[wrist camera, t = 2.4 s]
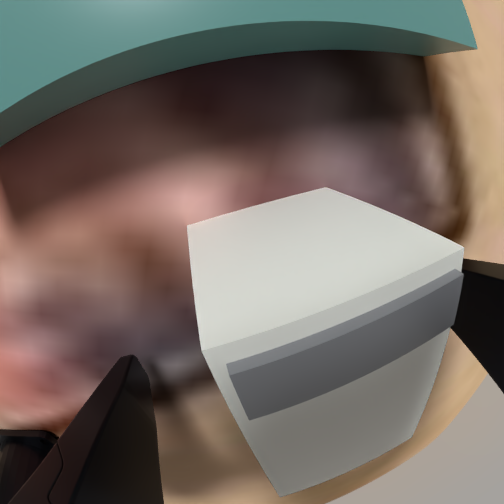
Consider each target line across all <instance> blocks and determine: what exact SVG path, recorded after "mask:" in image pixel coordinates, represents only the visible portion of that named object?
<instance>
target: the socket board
mask: <svg viewBox="0 0 504 504" xmlns="http://www.w3.org/2000/svg"><path fill="white" fill-rule="evenodd" d="M475 49H477V45H476V41H475V38H474V34H473V31H472V28H471V25H470V22H469V19H468V16H467V13H466V10H465V7H464V5H463V2H462V0H0V147H1V146H3V145H4V144H6V143H7V142H9V141H11V140H12V139H14V138H15V137H17V136H19V135H20V134H22V133H24V132H26V131H27V130H29V129H31V128H33V127H34V126H36V125H38V124H40V123H42V122H44V121H45V120H47V119H49V118H51V117H53V116H55V115H57V114H59V113H61V112H63V111H65V110H68V109H70V108H72V107H74V106H76V105H78V104H81V103H83V102H85V101H87V100H90V99H92V98H95V97H97V96H100V95H102V94H105V93H107V92H110V91H112V90H115V89H118V88H120V87H123V86H126V85H129V84H132V83H135V82H138V81H141V80H144V79H147V78H151V77H154V76H157V75H161V74H164V73H168V72H172V71H175V70H179V69H183V68H187V67H191V66H196V65H200V64H205V63H210V62H215V61H220V60H226V59H231V58H237V57H244V56H251V55H259V54H267V53H277V52H289V51H305V50H366V51H382V52H393V53H402V54H411V55H418V56H430V55H436V54H442V53H449V52H456V51H465V50H475Z"/></svg>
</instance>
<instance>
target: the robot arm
mask: <svg viewBox="0 0 504 504" xmlns="http://www.w3.org/2000/svg"><path fill="white" fill-rule="evenodd" d="M461 272H462V273H463V274H464V276H463V282H462V288H461V293H460V298H459V303H458V308H457V313H456V317H455V321H454V325H452V326H451V327H450V328H451V329H452V330H453V331H454V332H455V333H456V335H457V336H458V337H459V338H460V339H461V340H462V342H463V343H464V344H465V345H466V346H467V347H468V349H469V350H470V351H471V352H472V353H473V355H474V356H475V357H476V358H477V360H478V361H479V362H480V363H481V365H482V366H483V367H484V368H485V370H486V371H487V372H488V373H489V375H490V376H491V377H492V379H493V380H494V381H495V383H496V384H497V385H498V387H499V388H500V389H501V391H502V392H503V393H504V264H497V263H491V262H484V261H477V260H470V259H463V263H462V270H461ZM0 504H164V500H163V492H162V484H161V475H160V465H159V454H158V441H157V428H156V420H155V414H154V408H153V402H152V396H151V389H150V382H149V378H148V375H147V373H146V372H145V370H144V369H143V367H142V365H141V364H140V362H139V361H138V359H137V357H136V356H135V355H128V356H123V357H121V358H120V359H119V360H118V361H117V362H116V364H115V365H114V366H113V368H112V369H111V370H110V371H109V373H108V374H107V375H106V377H105V378H104V379H103V380H102V382H101V383H100V384H99V386H98V387H97V388H96V390H95V391H94V392H93V394H92V395H91V396H90V398H89V399H88V400H87V402H86V403H85V404H84V405H83V407H82V408H81V410H80V411H79V412H78V414H77V415H76V416H75V418H74V419H73V420H72V422H71V423H70V424H69V426H68V427H67V428H66V430H65V431H64V433H63V434H62V435H61V437H60V438H59V439H58V440H57V439H55V438H54V437H53V436H52V435H51V434H49V433H47V432H45V431H40V430H37V431H24V430H0Z"/></svg>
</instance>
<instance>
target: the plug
mask: <svg viewBox="0 0 504 504" xmlns="http://www.w3.org/2000/svg"><path fill="white" fill-rule="evenodd" d="M187 233H188V244H189V254H190V264H191V273H192V282H193V291H194V299H195V307H196V315H197V322H198V330H199V337H200V344H201V350H202V353H203V355H204V357H205V359H206V361H207V364H208V366H209V368H210V370H211V372H212V374H213V376H214V379H215V381H216V383H217V385H218V387H219V389H220V391H221V393H222V395H223V397H224V399H225V401H226V403H227V405H228V407H229V409H230V411H231V413H232V415H233V417H234V418H235V420H236V422H237V424H238V426H239V428H240V430H241V432H242V433H243V435H244V437H245V439H246V441H247V443H248V444H249V446H250V448H251V450H252V451H253V453H254V455H255V457H256V458H257V460H258V462H259V464H260V465H261V467H262V469H263V470H264V472H265V474H266V475H267V477H268V479H269V480H270V482H271V484H272V485H273V487H274V489H275V490H276V492H277V493H278V495H279V496H280V497H283V496H286V495H289V494H292V493H295V492H298V491H301V490H304V489H307V488H309V487H312V486H315V485H317V484H320V483H323V482H325V481H328V480H330V479H332V478H335V477H337V476H339V475H342V474H344V473H346V472H348V471H351V470H353V469H355V468H357V467H359V466H361V465H363V464H365V463H367V462H369V461H371V460H373V459H375V458H377V457H379V456H381V455H383V454H384V453H386V452H388V451H390V450H392V449H393V448H395V447H397V446H398V445H400V444H402V443H403V442H405V441H407V440H408V439H410V438H412V436H413V434H414V431H415V429H416V427H417V425H418V423H419V420H420V418H421V415H422V413H423V411H424V408H425V406H426V403H427V401H428V398H429V395H430V393H431V390H432V387H433V384H434V382H435V379H436V376H437V373H438V370H439V366H440V363H441V360H442V357H443V353H444V350H445V346H446V343H447V339H448V335H449V331H450V327H451V326H452V325H454V321H455V317H456V313H457V308H458V303H459V298H460V293H461V288H462V282H463V276H464V274H463V273H462V272H461V270H462V263H463V255H464V247H462V246H461V245H459V244H457V243H455V242H453V241H451V240H449V239H447V238H444V237H442V236H440V235H438V234H436V233H434V232H432V231H430V230H428V229H426V228H423V227H421V226H419V225H417V224H415V223H413V222H410V221H408V220H406V219H404V218H401V217H399V216H397V215H394V214H392V213H390V212H387V211H385V210H383V209H380V208H378V207H376V206H373V205H371V204H368V203H366V202H363V201H361V200H358V199H356V198H353V197H351V196H348V195H345V194H343V193H340V192H338V191H335V190H332V189H330V188H327V187H325V188H321V189H317V190H313V191H309V192H305V193H301V194H297V195H293V196H290V197H286V198H282V199H278V200H274V201H271V202H267V203H263V204H260V205H256V206H252V207H249V208H245V209H242V210H238V211H235V212H231V213H228V214H224V215H221V216H217V217H214V218H210V219H207V220H204V221H200V222H197V223H194V224H190V225H187Z"/></svg>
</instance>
